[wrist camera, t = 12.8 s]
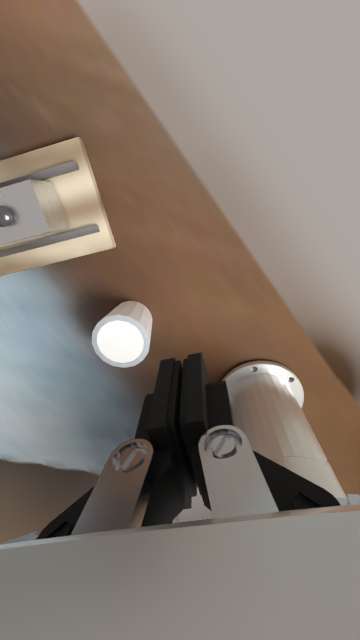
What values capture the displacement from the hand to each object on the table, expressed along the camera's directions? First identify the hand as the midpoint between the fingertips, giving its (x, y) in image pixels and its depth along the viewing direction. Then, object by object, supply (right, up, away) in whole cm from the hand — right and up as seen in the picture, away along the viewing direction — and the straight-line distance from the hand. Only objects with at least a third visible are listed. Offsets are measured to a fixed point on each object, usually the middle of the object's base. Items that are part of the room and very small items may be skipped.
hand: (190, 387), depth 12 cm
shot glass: (-7, +3, +29) cm, 30 cm away
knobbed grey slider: (-18, +16, +22) cm, 33 cm away
